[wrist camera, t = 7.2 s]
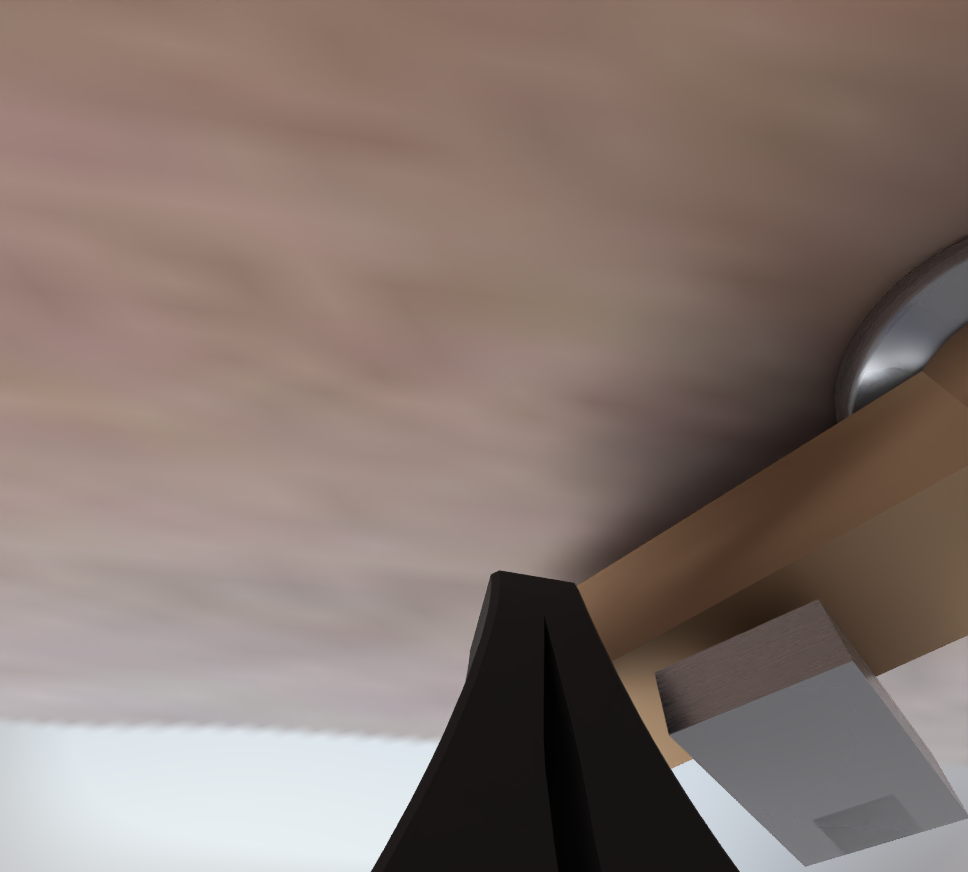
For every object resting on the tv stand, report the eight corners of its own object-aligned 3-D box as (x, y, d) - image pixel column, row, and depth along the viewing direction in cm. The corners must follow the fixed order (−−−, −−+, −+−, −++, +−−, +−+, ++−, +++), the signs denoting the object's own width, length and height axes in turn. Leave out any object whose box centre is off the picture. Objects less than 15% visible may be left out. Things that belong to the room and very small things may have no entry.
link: (1121, 225, 8) (1507, 338, 5) (1200, 403, 10) (1548, 584, 6) (492, 624, 13) (486, 823, 9) (605, 711, 14) (633, 912, 11)
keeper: (737, 452, 12) (852, 660, 8) (833, 588, 13) (969, 817, 9) (619, 517, 12) (668, 734, 9) (723, 637, 14) (805, 866, 10)
